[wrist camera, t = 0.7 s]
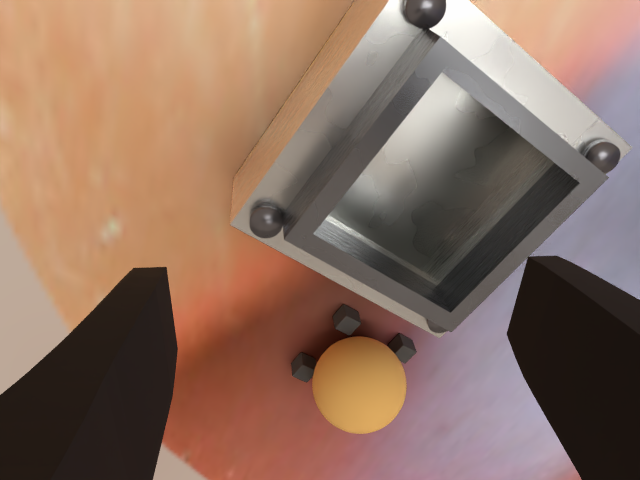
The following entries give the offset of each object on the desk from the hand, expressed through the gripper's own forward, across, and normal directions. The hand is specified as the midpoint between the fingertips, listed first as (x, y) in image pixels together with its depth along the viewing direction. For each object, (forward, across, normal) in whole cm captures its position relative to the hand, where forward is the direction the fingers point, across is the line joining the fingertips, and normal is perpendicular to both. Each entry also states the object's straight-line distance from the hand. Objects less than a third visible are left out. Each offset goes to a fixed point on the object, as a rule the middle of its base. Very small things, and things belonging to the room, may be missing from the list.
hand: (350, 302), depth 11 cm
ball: (+10, -2, +10) cm, 14 cm away
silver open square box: (+10, -4, 0) cm, 10 cm away
